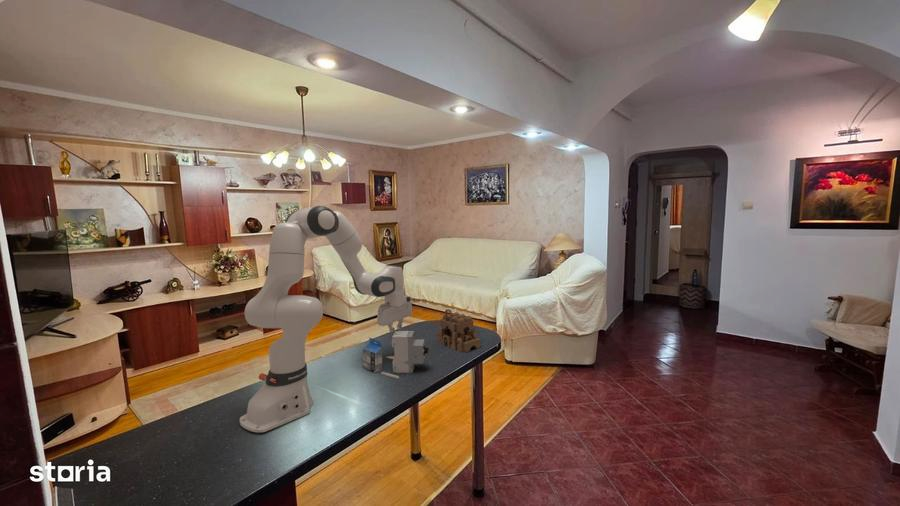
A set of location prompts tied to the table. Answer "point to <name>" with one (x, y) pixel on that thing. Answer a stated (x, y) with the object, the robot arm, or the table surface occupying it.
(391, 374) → the peg
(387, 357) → the cork pad
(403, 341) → the circuit breaker
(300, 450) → the table surface
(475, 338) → the wooden puzzle
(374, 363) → the label tape box
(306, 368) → the robot arm
